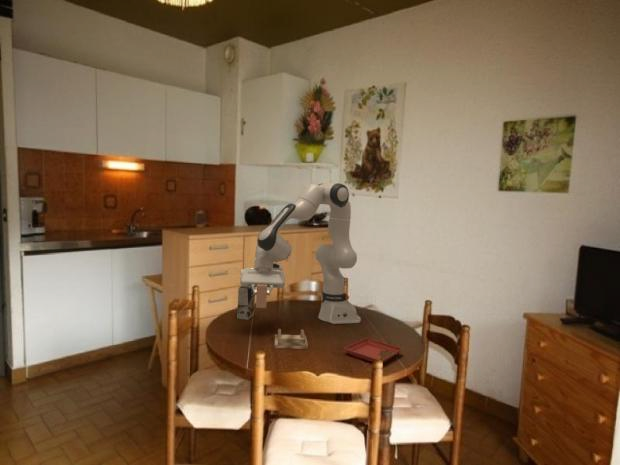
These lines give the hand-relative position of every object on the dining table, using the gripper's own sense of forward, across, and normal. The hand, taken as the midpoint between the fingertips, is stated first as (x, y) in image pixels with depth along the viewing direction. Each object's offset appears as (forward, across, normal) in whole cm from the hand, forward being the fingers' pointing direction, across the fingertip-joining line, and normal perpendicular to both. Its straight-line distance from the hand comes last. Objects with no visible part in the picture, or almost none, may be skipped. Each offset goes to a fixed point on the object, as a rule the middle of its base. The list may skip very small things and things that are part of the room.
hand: (261, 294), depth 184 cm
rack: (+19, +14, +8) cm, 25 cm away
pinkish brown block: (+4, 0, +5) cm, 6 cm away
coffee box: (-5, -8, +33) cm, 34 cm away
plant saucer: (+27, +48, +1) cm, 55 cm away
